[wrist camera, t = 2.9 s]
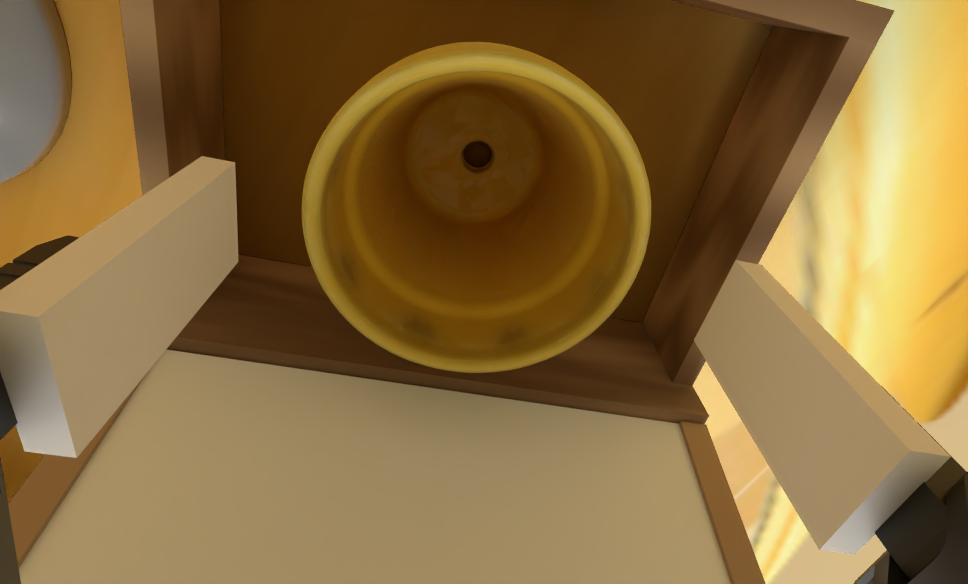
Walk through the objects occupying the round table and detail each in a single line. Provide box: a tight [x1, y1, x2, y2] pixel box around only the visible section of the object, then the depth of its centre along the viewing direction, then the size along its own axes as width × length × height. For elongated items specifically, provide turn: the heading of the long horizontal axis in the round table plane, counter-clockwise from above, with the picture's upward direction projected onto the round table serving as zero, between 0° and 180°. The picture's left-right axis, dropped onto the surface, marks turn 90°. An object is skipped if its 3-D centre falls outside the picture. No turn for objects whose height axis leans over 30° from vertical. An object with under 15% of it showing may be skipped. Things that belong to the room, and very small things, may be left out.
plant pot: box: [302, 42, 651, 373], centre depth 20 cm, size 10×10×10 cm
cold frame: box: [119, 0, 894, 424], centre depth 21 cm, size 17×24×7 cm
